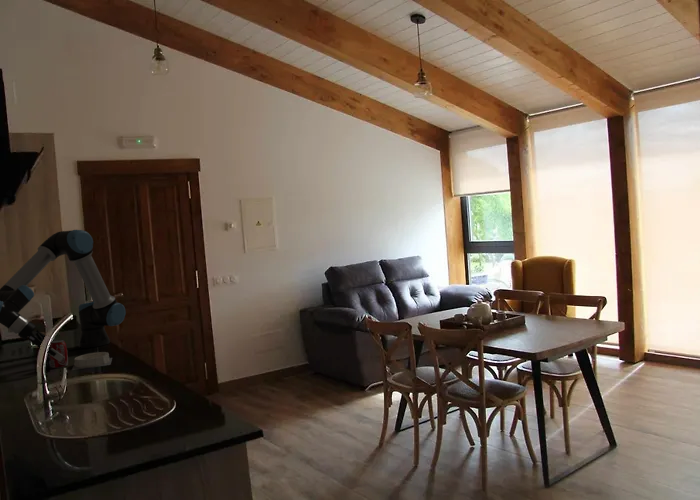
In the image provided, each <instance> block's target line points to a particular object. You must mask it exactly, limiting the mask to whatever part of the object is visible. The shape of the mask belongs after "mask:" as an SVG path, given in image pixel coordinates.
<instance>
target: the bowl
mask: <svg viewBox="0 0 700 500" xmlns="http://www.w3.org/2000/svg"><path fill="white" fill-rule="evenodd" d="M109 358H110V354H109V352H106V351H101V352H99V351H97V352H89V353H84V354H82V355H79V356H76V357H74V364H75V366H76V367H77V368H85V369H88V368H87V367H92V368H96V367H95V366H99V365H103V364H106V363H108V362H109ZM99 367H100V366H99Z"/></svg>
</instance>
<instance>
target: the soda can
mask: <svg viewBox="0 0 700 500" xmlns="http://www.w3.org/2000/svg"><path fill="white" fill-rule="evenodd" d="M54 340H55V341H52V342H51V345H50V348H53V349H54V350H56V351H57V352H59V353H60V354H61V355H63V356H64V358H63V359H62V360H61V361H60V362H59V361H58V360H57V359H55V358H54V357H52V356H51V355H49V358H50V359H49V360H50V364H51V368H53V369H61V368H64V367H67V366H68V365H69V357H68V352H67V351H68V349H67V347H68V346H67V343H66V342H65V339H54Z"/></svg>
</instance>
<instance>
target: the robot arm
mask: <svg viewBox="0 0 700 500" xmlns="http://www.w3.org/2000/svg"><path fill="white" fill-rule="evenodd" d="M93 248H94V239H93V236H92V235H91V234H90V233H89V232H88V231H86V230H82V229H73V230H72V229H71V230H62V231H57V232H55V233H53V234H51V235H50V236H49V237H48V238H47V239H45V240H44V241H43V242H42V243H40V245H39V246H38V248H37V251H36V252H35V253H34V254H33V255H32V257H30V258H29V259H28V260H27V262H25V263H24V264H23V266H21V267H20V268H19V270H17V271H16V273H14V274H13V276H12V277H10V279H8V281H6V283H4V284H3V285H2V286H1V288H0V324H1V325H2V326H4V327H6V328H7V329H8V330H9V331H10V333H14V334H15V335H16V334H17V335H18V337H20V338H21V339H23V340H26V339H28V340H29V341H30V342H31V343H32V344H33V345H35V346H36V347H37V348H38V349H40V345H41V343H42V341H43V339H44V337H45V335H46V334H44V333H43V332H41V331H39V330H36V328H37V325H36V324H35V323H33V322H32V321H29V319H27V318H26V317H25V316H23V315H22V314H20V313H19V312H21V311H22V310H23V309H24V308H25V307H26V306H27V305H28V304H29V303H30V302H31V301H32V300H33V298H34V297H35V293H34V291H33V289H32V288H31V287H29V286H28V285H29V284H30V283H31V282H33V280H34V279H35V278H36V277H37V276H38V275H39V274H40V273H41V271H42V270H43V269H44V268H45V267H46V266H47V265H49V263H51V262H54V261H55V260H56V259H58V258H59V257H60V256H61V257H62V256H63V255H64V256H65V255H66V256H67V258H68V260H69V261H70V262H72V263H74V265H75V266H76V269H77V271H78V273H79V275H80V277H81V279H82V281H83V283H84V285H85V287H86V289H87V291H88V293H89V295H90V298H91V299H92V301H90V302H85V303H81V304H79V305H78V317H79V326H80V337H79V341H78V348H80V347H81V349H88V348H89V349H90V347H91V348H98V347H103V346H106V345H108V344H110V343H111V342H110V341H111V340H110V337H109V336H108V333H107V332H106V329H105V326H106V327H113V326H119V325H120V324H122V322H123V321H124V320H125V316H126V314H127V313H126V308H125V305H123V304H122V303H120V302H118V301H117V299H116V297H115V296H114V295H111V294H110V292H109V289H108V287H107V286H106V283H105V281H104V279H103V277H102V275H101V272H100V271H99V268H98V266H97V264H96V262H95V260H94V258H93V256H92V254H93V253H94V250H93ZM55 340H56V339H53V341H55ZM68 352H69V350H67V353H68ZM47 354H48V355H49V356H50V355H51V356H52V357H54V358H55V359H57V360H58V361H59V362H60V361H61V360H62V359H63V358H64V356H63V355H61V354H60V353H59V352H57V351H56V350H54V349H53V348H50V347H49V351H48V352H47Z"/></svg>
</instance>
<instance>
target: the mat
mask: <svg viewBox="0 0 700 500" xmlns="http://www.w3.org/2000/svg"><path fill="white" fill-rule="evenodd" d="M112 361H113V357H109V362H108V363H106V364H103V365H99V366H95V367H94V368H99V367H105V366H110V365H112ZM90 368H93V367H87V368H77V367H76V366H75V363H74V365H73V367H72V369H71V371H77V370H83V369H84V370H85V369H90Z"/></svg>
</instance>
